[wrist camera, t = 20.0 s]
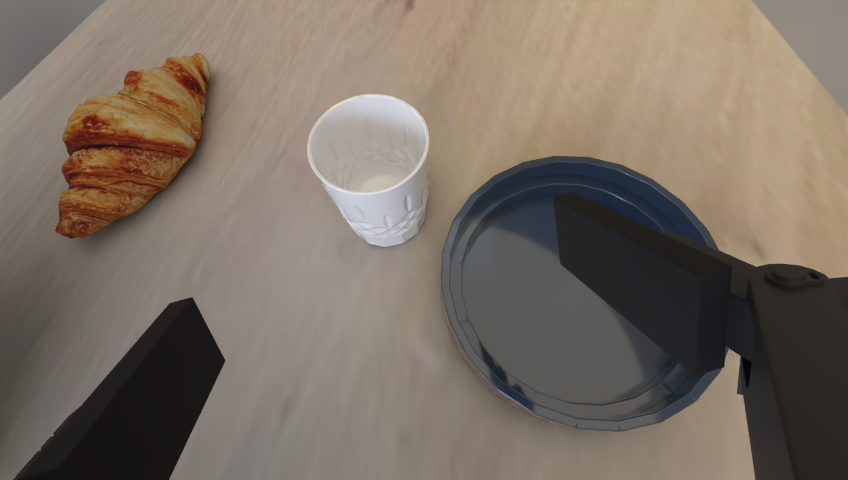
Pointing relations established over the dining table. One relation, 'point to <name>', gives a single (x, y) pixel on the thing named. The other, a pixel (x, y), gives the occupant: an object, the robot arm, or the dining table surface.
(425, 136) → the white cup
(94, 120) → the croissant
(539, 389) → the plate
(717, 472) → the dining table surface
